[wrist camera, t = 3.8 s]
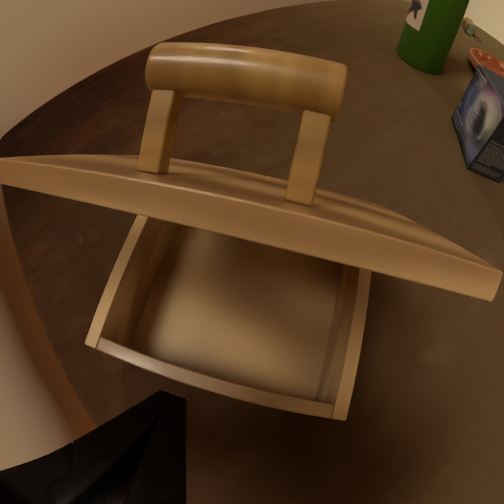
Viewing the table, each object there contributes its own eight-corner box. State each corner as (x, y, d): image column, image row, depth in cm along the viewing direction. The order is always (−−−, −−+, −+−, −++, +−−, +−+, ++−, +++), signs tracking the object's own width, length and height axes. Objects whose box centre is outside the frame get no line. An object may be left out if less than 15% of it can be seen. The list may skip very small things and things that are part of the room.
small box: (447, 115, 34) (476, 60, 24) (481, 131, 33) (512, 81, 24) (464, 168, 29) (507, 107, 20) (500, 184, 29) (544, 132, 19)
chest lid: (492, 303, 6) (534, 123, 4) (-6, 182, 7) (19, 45, 6) (376, 216, 18) (392, 147, 17) (160, 168, 20) (173, 102, 18)
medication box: (472, 36, 58) (476, 28, 54) (465, 32, 58) (470, 23, 54) (467, 27, 62) (472, 20, 59) (461, 23, 63) (465, 16, 59)
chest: (320, 413, 19) (346, 420, 13) (121, 357, 20) (84, 343, 15) (350, 253, 24) (375, 214, 19) (177, 211, 25) (162, 166, 20)
